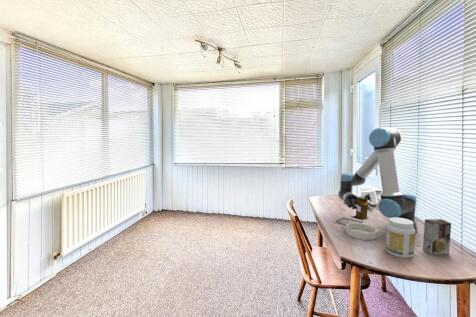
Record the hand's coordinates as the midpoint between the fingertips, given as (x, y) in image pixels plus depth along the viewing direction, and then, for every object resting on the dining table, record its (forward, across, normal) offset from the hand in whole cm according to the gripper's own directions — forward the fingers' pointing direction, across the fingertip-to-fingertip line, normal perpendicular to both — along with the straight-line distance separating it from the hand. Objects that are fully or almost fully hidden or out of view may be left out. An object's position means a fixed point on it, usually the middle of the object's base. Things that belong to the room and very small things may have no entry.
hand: (365, 209), depth 144 cm
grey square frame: (-25, 0, -17) cm, 30 cm away
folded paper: (-75, -35, -17) cm, 84 cm away
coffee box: (+15, -29, -16) cm, 37 cm away
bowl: (-5, 0, -17) cm, 17 cm away
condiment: (-5, +1, -7) cm, 8 cm away
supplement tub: (+18, -9, -17) cm, 27 cm away
